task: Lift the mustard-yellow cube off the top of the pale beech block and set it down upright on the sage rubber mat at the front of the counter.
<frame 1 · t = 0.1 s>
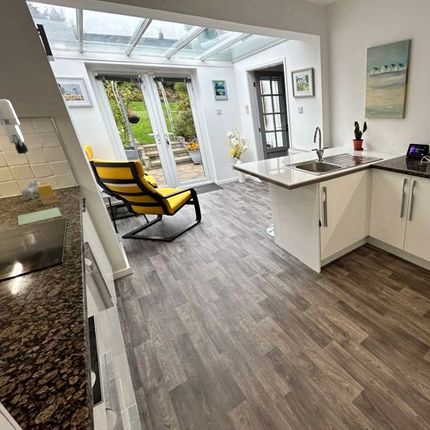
hand: (23, 152, 158), 30 cm above the table, tool pointing down, fingers open, 9 cm apart
base block: (50, 202, 163), on the table, touching top cube
supplement box: (51, 197, 173), on the table
top cube: (47, 194, 162), point 5 cm above the table, touching base block
dog figurine: (35, 197, 175), on the table
mat: (39, 216, 141), on the table
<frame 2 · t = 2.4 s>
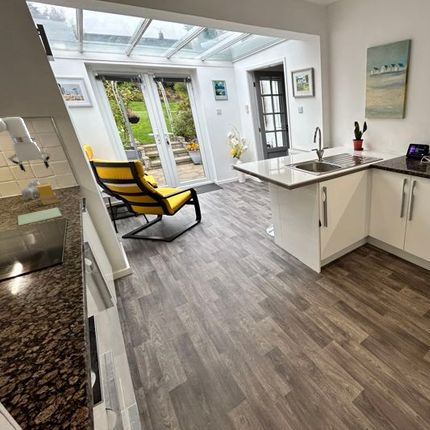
hand: (36, 169, 156), 21 cm above the table, tool pointing down, fingers open, 9 cm apart
nothing on the table moved.
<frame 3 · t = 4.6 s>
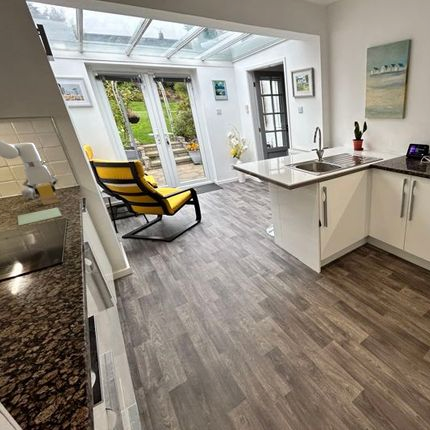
hand: (46, 193, 161), 6 cm above the table, tool pointing down, fingers closed on top cube, 6 cm apart
top cube: (47, 194, 162), point 5 cm above the table, touching base block, gripper
everything else where it was.
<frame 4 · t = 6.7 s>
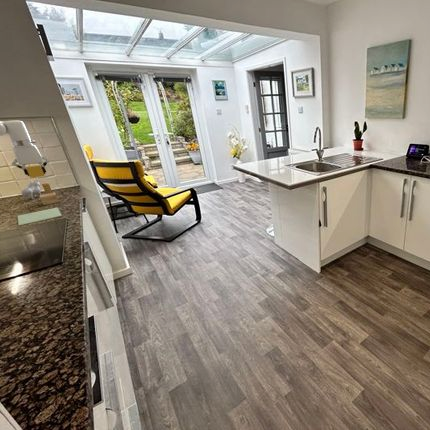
hand: (36, 174, 155), 18 cm above the table, tool pointing down, fingers closed on top cube, 6 cm apart
base block: (50, 202, 163), on the table
top cube: (37, 176, 155), point 17 cm above the table, touching gripper
everything else where it was.
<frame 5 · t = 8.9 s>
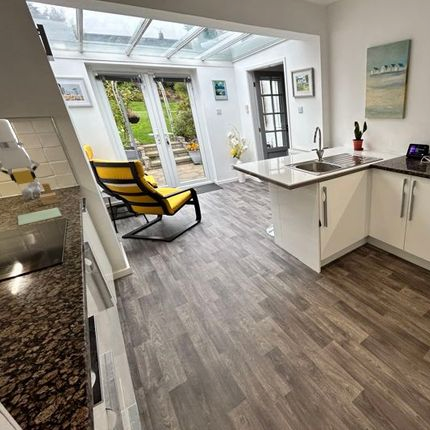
hand: (25, 180, 137), 19 cm above the table, tool pointing down, fingers closed on top cube, 6 cm apart
top cube: (26, 182, 137), point 18 cm above the table, touching gripper
everything else where it was.
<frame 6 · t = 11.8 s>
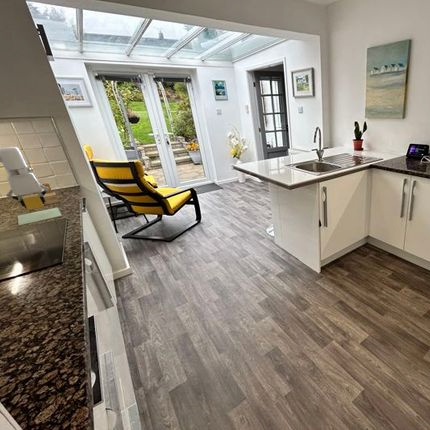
hand: (34, 205, 139), 6 cm above the table, tool pointing down, fingers closed on top cube, 6 cm apart
top cube: (35, 206, 139), point 5 cm above the table, touching gripper
everything else where it was.
when the fingers open (1 cm above the table, at t = 13.6 s): top cube stays where it is, resting on mat.
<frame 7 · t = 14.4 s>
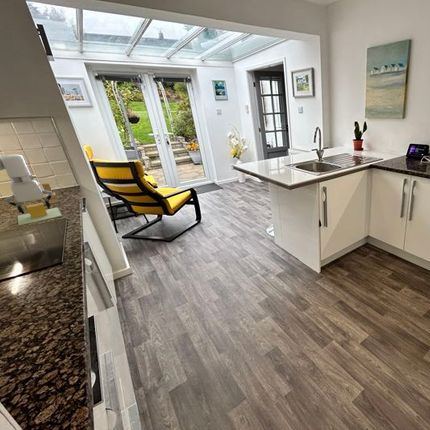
hand: (36, 210, 140), 3 cm above the table, tool pointing down, fingers open, 9 cm apart
top cube: (39, 215, 141), resting on mat
everything else where it was.
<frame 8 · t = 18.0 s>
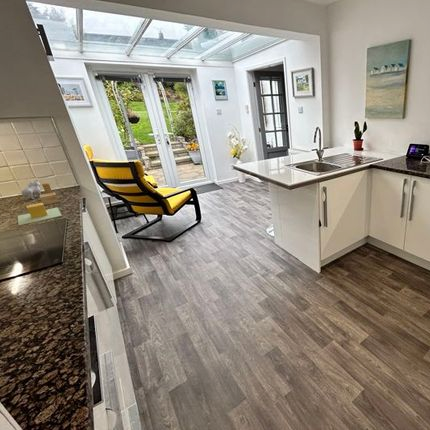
nothing on the table moved.
at the end: top cube inside the target area on the mat (0.1 cm from its centre), point 0.4 cm above the mat's base; top cube tilted 0°; base block moved 0.0 cm from its start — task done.
